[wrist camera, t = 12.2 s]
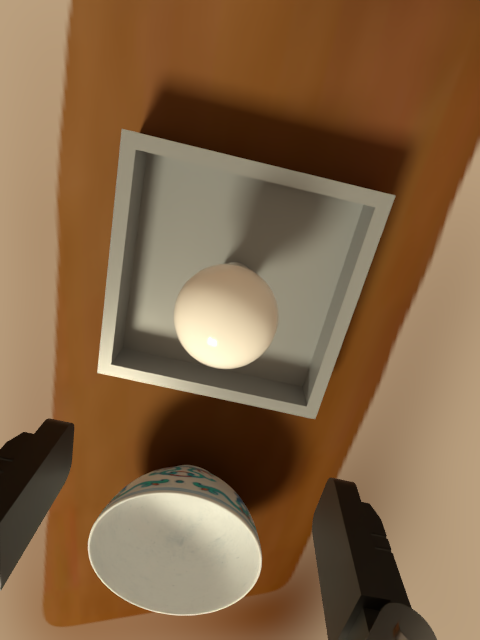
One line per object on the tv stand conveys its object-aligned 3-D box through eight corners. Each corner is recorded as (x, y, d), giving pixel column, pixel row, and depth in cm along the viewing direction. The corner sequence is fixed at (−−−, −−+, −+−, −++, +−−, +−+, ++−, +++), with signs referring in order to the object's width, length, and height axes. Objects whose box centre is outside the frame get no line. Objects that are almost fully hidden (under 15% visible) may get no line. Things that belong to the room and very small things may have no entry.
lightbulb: (194, 309, 33) (163, 384, 23) (196, 232, 30) (161, 279, 20) (271, 316, 32) (274, 394, 22) (279, 239, 30) (286, 289, 20)
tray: (139, 132, 29) (121, 128, 25) (378, 191, 29) (395, 195, 26) (114, 350, 35) (97, 372, 32) (309, 392, 36) (315, 419, 32)
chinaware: (97, 510, 43) (65, 581, 36) (148, 407, 38) (123, 465, 30) (222, 559, 45) (215, 634, 38) (287, 467, 40) (294, 535, 32)
